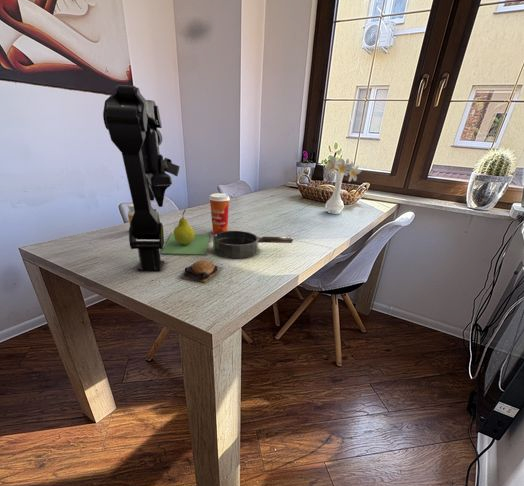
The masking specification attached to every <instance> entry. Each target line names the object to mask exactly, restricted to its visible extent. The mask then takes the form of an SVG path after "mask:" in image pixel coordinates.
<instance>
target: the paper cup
mask: <svg viewBox="0 0 524 486" xmlns="http://www.w3.org/2000/svg"><path fill="white" fill-rule="evenodd" d="M208 200H209V205H210V214H211V215H210V216H211V217H210V218H211V226H212V227H211V229H212V233H213V234H214V235H215V234H217V233H219V232H224V231H228V230H229V229H228V228H229V212H230V211H229V209H230V208H229V207H230V201H231V198H230V197H229V194H227V193H222V192H221V193H220V192H218V193H217V192H216V193H212V194H210V195H209V198H208Z"/></svg>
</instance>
